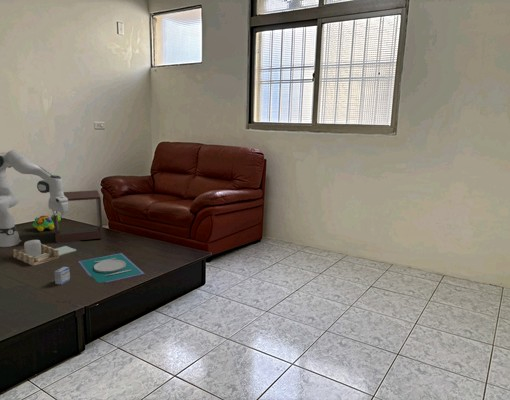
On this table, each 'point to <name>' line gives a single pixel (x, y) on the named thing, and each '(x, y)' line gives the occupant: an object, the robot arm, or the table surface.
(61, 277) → the medicine box
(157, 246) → the table surface
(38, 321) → the table surface
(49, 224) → the turtle toy
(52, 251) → the frame
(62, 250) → the sage board
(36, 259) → the birch offcut
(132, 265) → the place mat
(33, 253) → the photo printer
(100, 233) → the storage cube
